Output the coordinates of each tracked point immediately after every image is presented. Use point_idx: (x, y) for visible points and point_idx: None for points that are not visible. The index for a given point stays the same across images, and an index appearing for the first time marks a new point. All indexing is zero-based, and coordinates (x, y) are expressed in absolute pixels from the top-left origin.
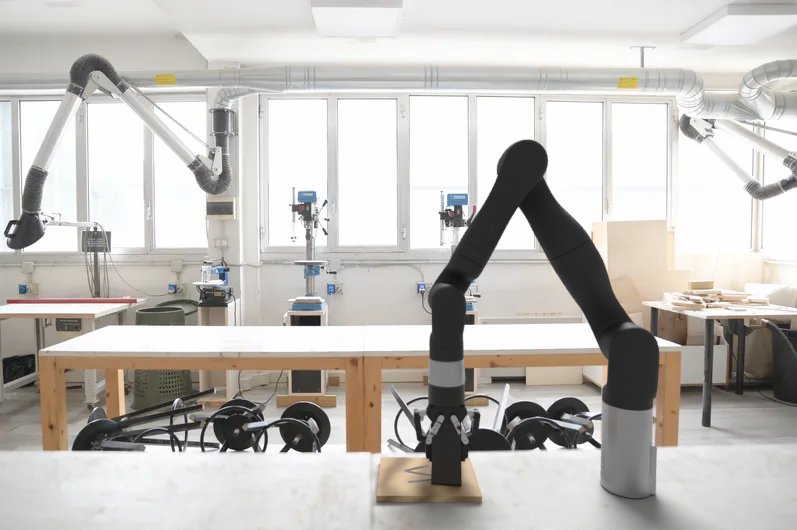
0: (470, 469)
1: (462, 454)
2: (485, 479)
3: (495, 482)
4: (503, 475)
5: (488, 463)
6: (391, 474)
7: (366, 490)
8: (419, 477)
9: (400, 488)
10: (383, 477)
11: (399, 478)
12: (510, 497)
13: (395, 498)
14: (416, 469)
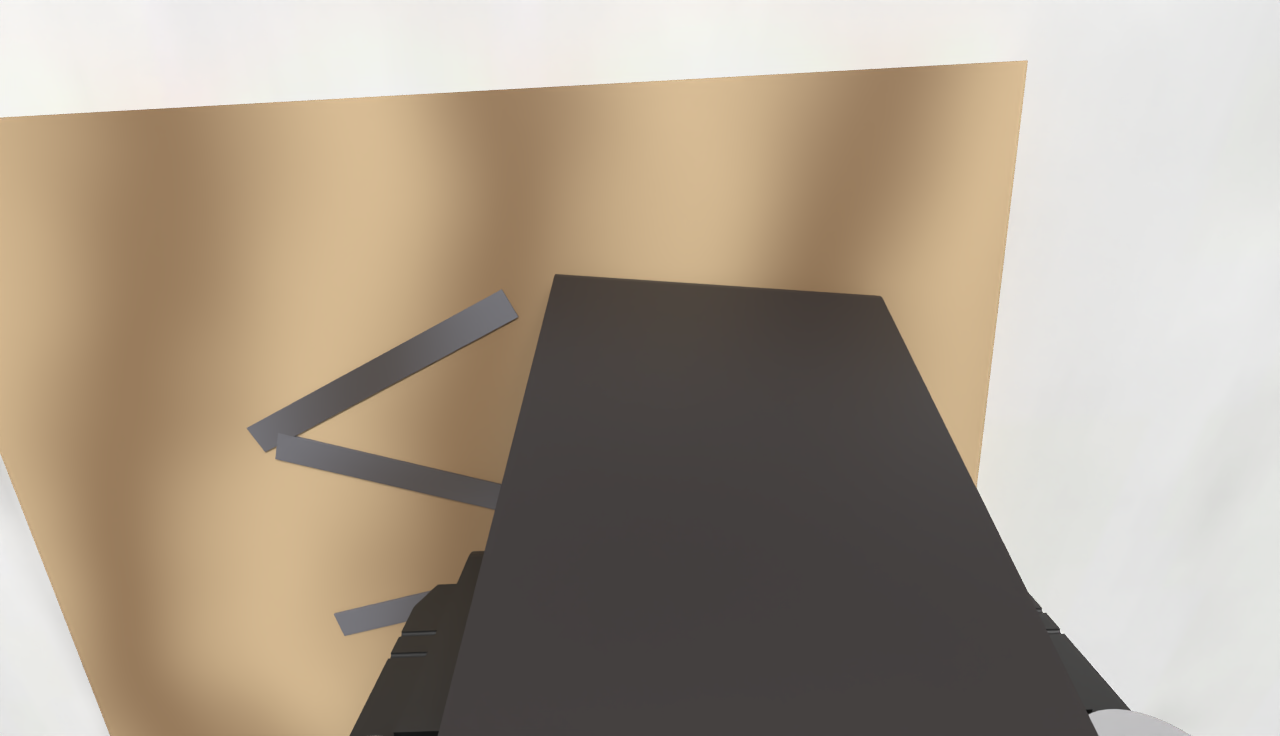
0: (959, 368)
1: None
2: (1055, 417)
3: (1129, 462)
4: (1263, 332)
5: (1216, 61)
6: (149, 512)
7: (35, 638)
8: (430, 546)
9: (294, 712)
10: (91, 569)
11: (246, 577)
12: (1158, 660)
13: None
14: (379, 400)
